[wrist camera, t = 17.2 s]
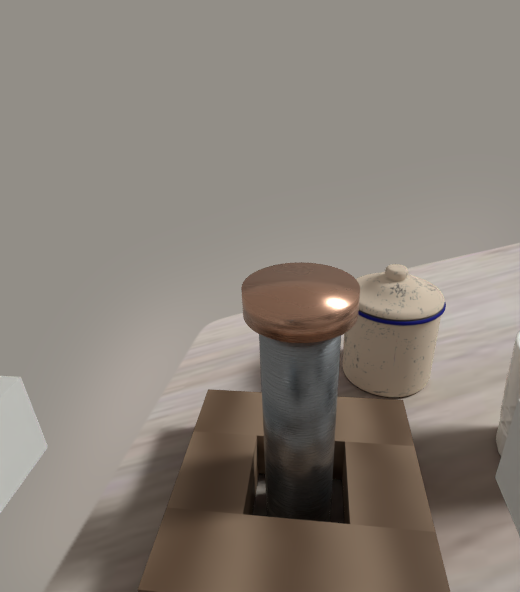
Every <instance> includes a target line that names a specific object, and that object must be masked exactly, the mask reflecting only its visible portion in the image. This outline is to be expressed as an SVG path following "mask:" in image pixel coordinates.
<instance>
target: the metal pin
mask: <svg viewBox="0 0 520 592" xmlns="http://www.w3.org/2000/svg"><path fill="white" fill-rule="evenodd" d="M359 299H360V285H359V283H358V281H357V280H356V279H355V278H354V277H353V276H352V275H350V274H348V273H347V272H345V271H343V270H340V269H338V268H335V267H331V266H327V265H322V264H316V263H285V264H278V265H273V266H269V267H266V268H263V269H261V270H258V271H256V272H254V273H253V274H251V275H250V276H248V277H247V278H246V279H245V281H244V282H243V284H242V303H243V317H244V320H245V322H246V324H247V325H248V326H249V327H250V328H251V329H252V330H254V331H255V332H257V333H258V334H259V341H260V364H261V386H262V409H263V432H264V454H265V477H266V500H267V517H277V518H288V519H299V520H310V521H320V522H330V511H331V494H332V478H333V461H334V444H335V428H336V411H337V394H338V377H339V361H340V344H341V335H343V334H344V333H346V332H348V331H349V330H350V329H351V328H352V327H353V326H354V325H355V324H356V322H357V319H358V312H359Z"/></svg>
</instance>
